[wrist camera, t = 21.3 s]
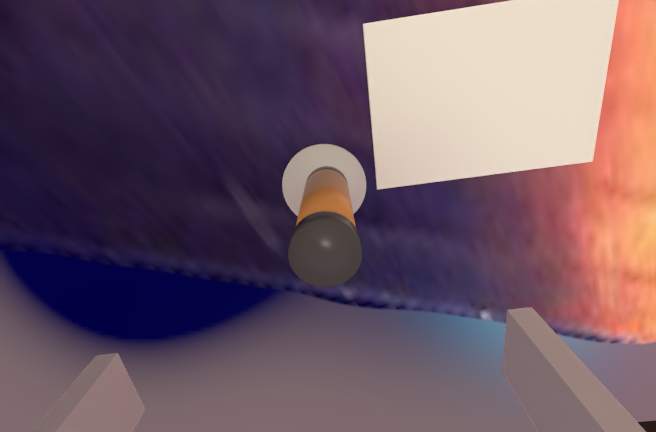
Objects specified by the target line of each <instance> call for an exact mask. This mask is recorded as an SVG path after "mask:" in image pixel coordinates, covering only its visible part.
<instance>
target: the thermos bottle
mask: <svg viewBox="0 0 656 432" xmlns="http://www.w3.org/2000/svg"><path fill="white" fill-rule="evenodd" d="M288 259H289V263H290V265H291V268H292V269H293V271H294V272H295V274H296V275H297V276H298V277H299V278H301V279H302V280H303V281H305V282H307V283H309V284H311V285H315V286H320V287H331V286H336V285H339V284H342V283H344V282H346V281H347V280H349V279H350V278H351V277H352V276H353V275H354V274H355V273H356V272H357V270H358V269H359V266H360V264H361V261H362V248H361V243H360V238H359V234H358V231H357V229H356V226H355V221H354V215H353V210H352V205H351V199H350V194H349V189H348V184H347V180H346V178H345V176H344V174H343V173H342V172H341V171H340V170H338V169H336V168H334V167H330V166H323V167H319V168H317V169H315V170H314V171H313V172H311V174H310V175H309V176H308V178H307V181H306V185H305V189H304V193H303V197H302V202H301V206H300V210H299V214H298V218H297V223H296V227H295V229H294V231H293V233H292V236H291V241H290V245H289V249H288Z"/></svg>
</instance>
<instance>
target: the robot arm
mask: <svg viewBox="0 0 656 432" xmlns="http://www.w3.org/2000/svg"><path fill="white" fill-rule="evenodd" d="M502 374H503V375H504V377H505V379H506V380H507V382H508V384H509V385H510V387H511V389H512V390H513V392H514V394H515V395H516V397H517V398H518V400H519V402H520V403H521V405H522V407H523V408H524V410H525V412H526V413H527V415H528V417H529V418H530V420H531V422H532V423H533V425H534V426H535V428H536V430H537V431H538V432H656V421H646V422H637V421H636V420H635V419H633V417H632V416H631V415H630V414H629V413H628V411H626V409H625V408H624V407H623V406H622V405H621V404H620V403H619V402H618V401H617V400H616V398H615V397H614V396H613V395H612V394H611V393H610V392H609V391H608V390H607V389H606V388H605V387H604V385H603V384H602V383H601V382H600V381H599V380H598V379H597V378H596V377H595V376H594V375H593V373H592V372H591V371H590V370H589V369H588V368H587V367H586V366H585V365H584V364H583V363H582V362H581V361H580V360H579V358H578V357H577V356H576V355H575V354H574V353H573V352H572V351H571V350H570V348H569V347H568V346H567V345H566V344H565V343H564V342H563V341H562V340H561V339H560V338H559V336H558V335H557V334H556V333H555V332H554V331H553V330H552V329H551V328H550V327H549V326H548V325H547V323H546V322H545V321H544V320H543V319H542V318H541V317H540V316H539V315H538V314H537V313H536V311H535V310H534V309H533V308H532V307H529V308H520V309H511V310H507V320H506V333H505V345H504V358H503V369H502ZM144 411H145V408H144V406H143V404H142V402H141V399H140V398H139V396H138V393H137V391H136V390H135V387H134V385H133V383H132V381H131V379H130V377H129V375H128V373H127V371H126V369H125V367H124V365H123V363H122V361H121V359H120V357H119V355H118V353H114V354H105V355H97V356H96V357H95V358H94V359H93V360H92V361H91V362H90V364H89V365H88V366H87V367H86V368H85V369H84V371H83V372H82V373H81V374H80V375H79V376H78V378H77V379H76V380H75V381H74V382H73V384H72V385H71V386H70V387H69V388H68V389H67V390H66V392H65V393H64V394H63V395H62V396H61V397H60V399H59V400H58V401H57V402H56V403H55V404H54V406H53V407H52V408H51V409H50V410H49V411H48V413H47V414H46V415H45V416H44V417H43V418H42V420H41V421H40V422H39V423H38V424H37V426H36V427H35V428H34V429H33V430H32V431H31V432H133V430H134V429H135V427H136V425H137V423H138V421H139V420H140V418H141V416H142V414H143V412H144Z"/></svg>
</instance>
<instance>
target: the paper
mask: <svg viewBox="0 0 656 432" xmlns="http://www.w3.org/2000/svg"><path fill="white" fill-rule="evenodd" d="M618 1H619V0H511V1H505V2H498V3H492V4H486V5H479V6H473V7H467V8H460V9H454V10H448V11H441V12H435V13H429V14H422V15H416V16H410V17H403V18H397V19H391V20H384V21H378V22H372V23H365V24H363V35H364V47H365V58H366V70H367V82H368V93H369V105H370V117H371V128H372V140H373V151H374V163H375V175H376V186H377V189H385V188H392V187H400V186H408V185H415V184H423V183H431V182H438V181H446V180H454V179H461V178H469V177H477V176H484V175H492V174H500V173H507V172H515V171H523V170H530V169H538V168H546V167H553V166H561V165H569V164H576V163H584V162H592V161H593V155H594V149H595V143H596V137H597V131H598V124H599V118H600V112H601V106H602V100H603V94H604V88H605V81H606V75H607V69H608V63H609V57H610V51H611V45H612V38H613V32H614V26H615V20H616V14H617V8H618Z"/></svg>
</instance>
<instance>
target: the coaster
mask: <svg viewBox="0 0 656 432" xmlns="http://www.w3.org/2000/svg"><path fill="white" fill-rule="evenodd" d="M323 166H330V167H334V168H336V169H338V170H340V171H341V172H342V173H343V174H344V176H345V178H346V180H347V184H348V189H349V194H350V199H351V205H352V210H353V214H354V213H355V212H356V211H357V210H358V209H359V207H360V206H361V204H362V202H363V200H364V197H365V193H366V178H365V174H364V171H363V168H362V166H361V164H360V163H359V161H358V160H357V159H356V157H355V156H354V155H353V154H351V153H350V152H349V151H347V150H346V149H344V148H342V147H340V146H337V145H333V144H325V143H323V144H315V145H311V146H308V147H306V148H304V149H302V150H301V151H299V152H298V153H297V154H296V155H295V156H294V157H293V158H292V159H291V160H290V162H289V163H288V165H287V167H286V169H285V171H284V175H283V180H282V189H283V195H284V198H285V200H286V203H287V204H288V206H289V208H290V209H291V210H292V211H293V212H294V213H295V214H296V215H297V216H298V214H299V210H300V206H301V202H302V197H303V193H304V189H305V185H306V181H307V178H308V176H309V175H310V174H311V172H313V171H314V170H315V169H317V168H319V167H323Z"/></svg>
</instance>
